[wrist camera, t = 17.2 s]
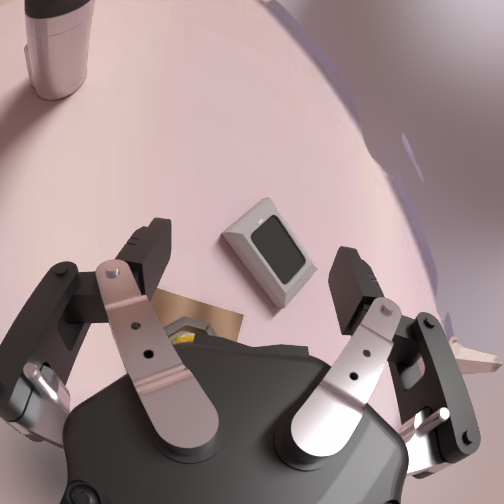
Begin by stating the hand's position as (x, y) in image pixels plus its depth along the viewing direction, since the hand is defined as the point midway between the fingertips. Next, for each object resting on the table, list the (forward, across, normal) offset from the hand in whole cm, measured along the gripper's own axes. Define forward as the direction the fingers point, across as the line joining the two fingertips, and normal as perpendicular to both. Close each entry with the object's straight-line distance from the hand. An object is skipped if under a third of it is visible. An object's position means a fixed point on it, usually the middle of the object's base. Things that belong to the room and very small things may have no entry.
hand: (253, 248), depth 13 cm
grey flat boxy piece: (+27, -4, +18) cm, 32 cm away
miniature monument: (+32, -62, +51) cm, 86 cm away
